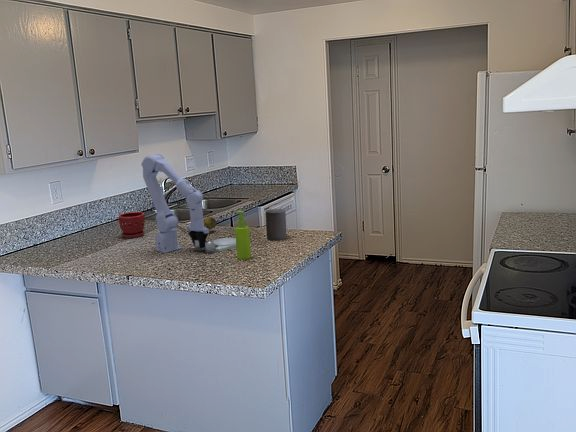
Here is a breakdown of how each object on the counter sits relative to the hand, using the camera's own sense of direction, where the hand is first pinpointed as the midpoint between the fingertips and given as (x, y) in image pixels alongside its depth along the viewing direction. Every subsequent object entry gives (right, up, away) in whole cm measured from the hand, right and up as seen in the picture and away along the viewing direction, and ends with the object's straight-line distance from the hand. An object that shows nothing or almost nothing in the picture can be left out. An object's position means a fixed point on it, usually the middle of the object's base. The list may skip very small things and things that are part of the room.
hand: (199, 247), depth 253 cm
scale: (+10, 0, +6) cm, 11 cm away
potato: (-3, +5, +35) cm, 36 cm away
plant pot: (-41, +3, +39) cm, 57 cm away
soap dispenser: (+21, -4, -17) cm, 28 cm away
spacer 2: (+6, -2, -5) cm, 8 cm away
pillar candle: (+35, +3, +14) cm, 38 cm away
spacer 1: (0, -1, 0) cm, 1 cm away
